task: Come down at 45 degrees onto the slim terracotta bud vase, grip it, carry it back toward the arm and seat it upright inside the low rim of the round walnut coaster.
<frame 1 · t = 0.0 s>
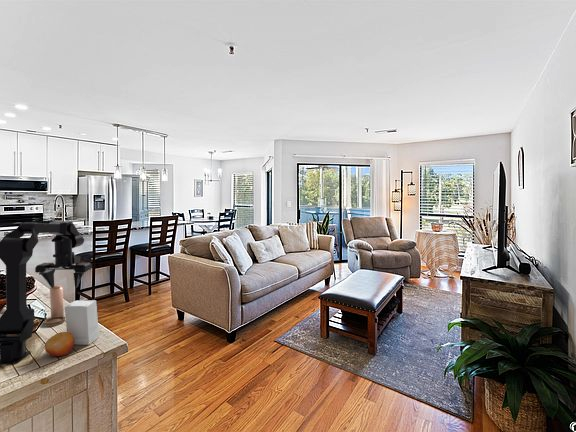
hand: (64, 287, 123), 15 cm above the cabinet, tool pointing down, fingers open, 9 cm apart
coaster: (54, 322, 123), on the cabinet
skincare box: (82, 341, 109), on the cabinet
fruit: (60, 354, 100), on the cabinet
vase: (57, 316, 128), on the cabinet
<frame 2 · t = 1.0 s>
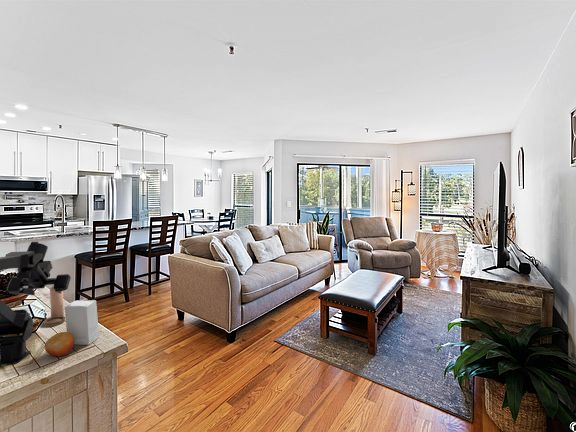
hand: (47, 293, 120), 13 cm above the cabinet, tool tilted 45°, fingers open, 9 cm apart
nothing on the cabinet moved.
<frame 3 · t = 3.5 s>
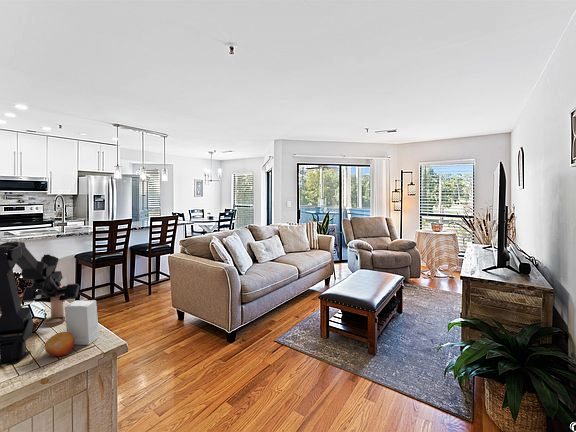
hand: (58, 301, 129), 7 cm above the cabinet, tool tilted 45°, fingers closed on vase, 4 cm apart
vase: (57, 316, 128), on the cabinet, touching gripper
everything else where it was.
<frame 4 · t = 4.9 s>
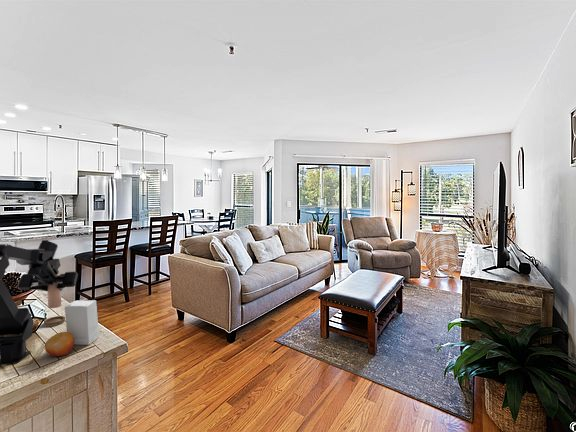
hand: (55, 290, 125), 13 cm above the cabinet, tool tilted 45°, fingers closed on vase, 4 cm apart
vase: (54, 306, 124), point 6 cm above the cabinet, touching gripper
everything else where it was.
when the fingers open (8 cm above the cabinet, at t = 6.7 s): vase stays where it is, resting on coaster.
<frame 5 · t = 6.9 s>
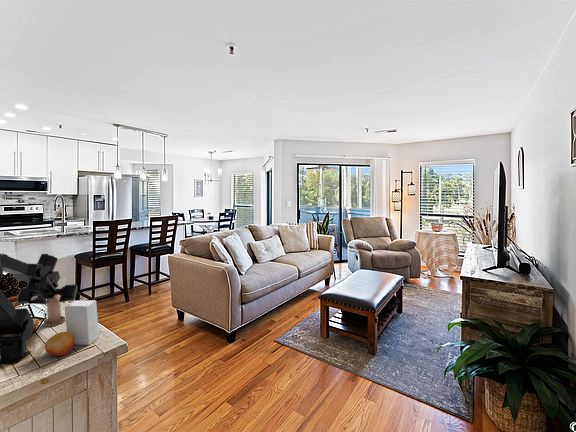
hand: (55, 302, 123), 8 cm above the cabinet, tool tilted 45°, fingers open, 6 cm apart
vase: (54, 321, 123), point 1 cm above the cabinet, touching coaster
everything else where it was.
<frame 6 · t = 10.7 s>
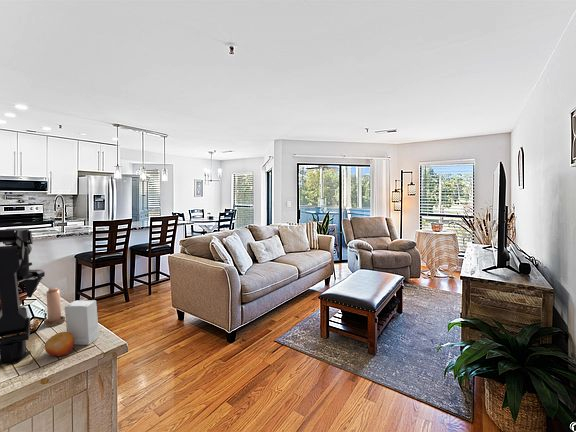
hand: (20, 301, 111), 13 cm above the cabinet, tool pointing down, fingers open, 9 cm apart
nothing on the cabinet moved.
at the end: vase 0.1 cm from the coaster (horizontally); vase tilted 0°; vase point 0.7 cm above the cabinet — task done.
